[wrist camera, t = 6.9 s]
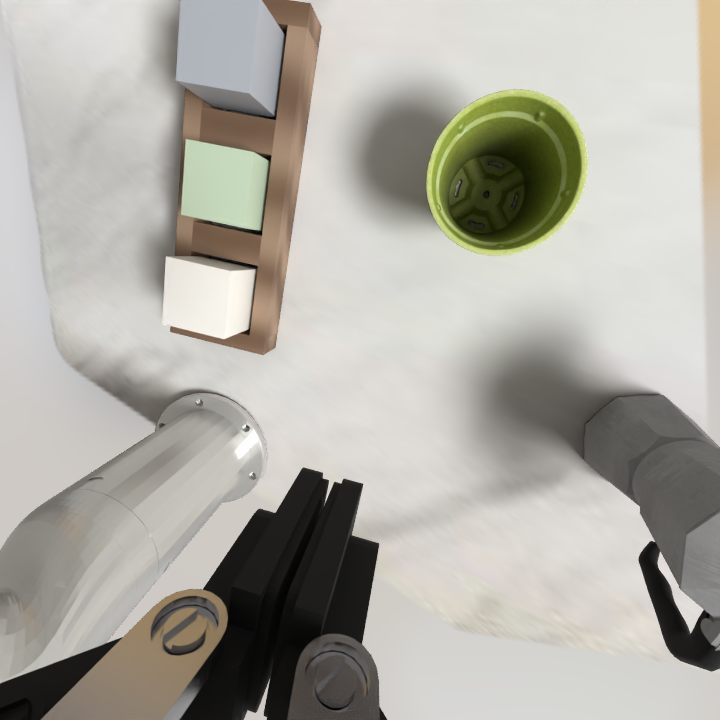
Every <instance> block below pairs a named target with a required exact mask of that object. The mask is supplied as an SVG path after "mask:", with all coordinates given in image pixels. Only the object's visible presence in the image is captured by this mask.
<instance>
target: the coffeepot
mask: <svg viewBox="0 0 720 720" xmlns="http://www.w3.org/2000/svg"><path fill="white" fill-rule="evenodd" d="M584 461H585V462H587V463H588V464H589V465H590V466H591V467H593V468H594V469H595V470H596V471H597V472H598V473H600V474H601V475H602V476H603V477H604V478H606V479H607V480H608V481H609V482H610V483H611V484H613V485H614V486H615V487H616V488H618V489H619V490H620V491H621V492H623V493H624V494H625V495H626V496H628V497H629V498H630V499H631V500H633V501H634V502H635V503H636V504H637V505H639V506H640V514H641V516H642V518H643V519H644V521H645V523H646V525H647V527H648V529H649V531H650V533H651V534H652V536H653V538H654V540H655V542H653V541H650V542H649V543H648V544H647V546H646V547H645V548H644V549H643V551H642V552H641V554H640V556H639V564H640V566H641V569H642V573H643V576H644V579H645V583H646V585H647V589H648V592H649V595H650V598H651V601H652V603H653V606H654V609H655V612H656V615H657V618H658V621H659V625H660V628H661V631H662V635H663V638H664V641H665V643H666V646H667V647H668V649H669V651H670V652H671V653H672V654H673V655H674V657H676V658H677V659H678V660H680V661H682V662H685V663H688V664H691V665H694V666H697V667H700V668H703V669H706V670H709V671H715V670H717V669H720V447H719V446H718V445H717V444H716V443H715V442H714V441H713V440H712V439H711V438H710V437H709V436H708V435H707V434H706V433H705V432H704V431H703V430H702V429H701V428H700V427H699V426H698V425H697V424H696V423H695V422H694V421H693V420H692V419H691V418H689V417H688V416H687V415H686V414H685V413H684V412H682V411H681V410H680V409H679V408H678V407H677V406H676V405H674V404H673V403H672V402H671V401H670V400H669V399H667V398H666V397H665V396H664V395H634V396H627V397H617V398H615V399H614V400H613V401H611V402H610V403H609V404H607V405H606V406H604V407H603V408H601V409H600V410H599V411H598V412H597V413H596V414H595V415H594V416H593V417H592V419H591V420H590V421H589V422H588V423H586V424H585V434H584ZM660 551H661V553H662V555H663V557H664V559H665V561H666V562H667V564H668V566H669V568H670V570H671V572H672V574H673V576H674V577H675V579H676V581H677V583H678V585H679V588H680V590H681V591H683V592H684V593H685V594H686V595H687V596H689V597H690V598H691V599H692V600H693V601H695V602H696V603H697V604H698V605H699V606H701V607H702V608H703V609H704V610H703V612H702V614H701V615H700V617H699V618H698V620H697V623H696V625H695V627H694V629H693V631H692V633H691V634H690V631H689V629H688V626H687V624H686V622H685V620H684V618H683V617H682V615H681V613H680V611H679V609H678V608H677V606H676V604H675V602H674V599H673V595H672V590H671V587H670V585H669V583H668V581H667V580H666V578H665V577H664V575H663V574H662V573H661V571H660V570H659V568H658V564H657V562H658V557H659V553H660Z"/></svg>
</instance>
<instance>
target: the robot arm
mask: <svg viewBox="0 0 720 720" xmlns="http://www.w3.org/2000/svg"><path fill="white" fill-rule="evenodd" d="M266 460H267V452H266V445H265V441H264V437H263V435H262V433H261V430H260V428H259V427H258V425H257V423H256V422H255V420H254V419H253V418H252V417H251V416H250V415H249V413H248V412H247V411H246V410H245V409H243V408H242V407H241V406H239V405H238V404H237V403H235V402H233V401H231V400H230V399H228V398H226V397H223V396H220V395H217V394H211V393H194V394H190V395H186V396H184V397H182V398H180V399H178V400H176V401H175V402H173V403H172V404H170V405H169V406H168V407H167V408H166V409H165V410H164V411H163V412H162V414H161V416H160V418H159V419H158V422H157V425H156V428H155V432H154V433H153V434H151V435H149V436H148V437H146V438H144V439H143V440H141V441H140V442H138V443H137V444H135V445H133V446H132V447H131V448H129V449H127V450H126V451H124V452H123V453H121V454H119V455H118V456H116V457H115V458H113V459H112V460H110V461H109V462H107V463H105V464H104V465H102V466H101V467H99V468H98V469H96V470H95V471H93V472H91V473H90V474H88V475H87V476H85V477H84V478H82V479H81V480H79V481H77V482H76V483H74V484H73V485H71V486H70V487H68V488H66V489H65V490H63V491H62V492H60V493H59V494H57V495H56V496H54V497H53V498H51V499H50V500H48V501H46V502H45V503H43V504H42V505H40V506H39V507H38V508H36V509H35V510H34V511H32V512H31V513H30V514H29V515H28V516H27V517H26V518H25V519H24V520H23V521H22V522H21V523H20V524H19V525H18V526H17V527H16V528H15V530H14V531H13V532H12V533H11V535H10V536H9V537H8V539H7V540H6V542H5V543H4V545H3V547H2V548H1V550H0V720H244V718H245V715H246V713H247V710H249V711H252V712H255V713H256V712H257V710H258V708H259V705H260V703H261V700H262V697H263V695H264V692H265V689H266V687H267V684H268V682H269V679H270V683H269V688H268V694H267V699H266V705H265V710H264V716H266V717H267V720H387V719H386V717H385V715H384V713H383V712H382V711H381V709H380V707H379V679H378V673H377V668H376V665H375V663H374V660H373V658H372V656H371V654H370V653H369V652H368V651H367V650H366V648H365V647H364V646H363V645H362V640H363V634H364V629H365V623H366V617H367V612H368V606H369V600H370V594H371V588H372V582H373V577H374V571H375V566H376V560H377V554H378V548H379V543H376V542H372V541H369V540H365V539H362V538H359V537H355V536H352V531H353V527H354V522H355V518H356V514H357V509H358V505H359V501H360V496H361V492H362V488H363V484H362V483H358V482H354V481H351V480H347V479H343V481H342V484H340V483H337V482H334V484H333V487H332V489H331V491H330V494H329V496H328V498H327V501H326V503H325V499H326V494H327V489H328V484H329V480H326V479H322V478H323V473H322V472H318V471H314V470H311V469H307V468H302V470H301V471H300V473H299V475H298V476H297V478H296V480H295V481H294V483H293V485H292V486H291V488H290V490H289V491H288V493H287V495H286V496H285V498H284V500H283V501H282V503H281V505H280V506H279V508H278V510H277V512H276V513H273V512H270V511H266V510H263V509H258V510H257V511H256V513H254V515H253V516H252V518H251V519H250V521H249V522H248V524H247V525H246V527H245V528H244V530H243V531H242V533H241V534H240V535H239V537H238V538H237V540H236V541H235V543H234V544H233V546H232V547H231V549H230V550H229V552H228V553H227V555H226V556H225V558H224V559H223V561H222V562H221V563H220V565H219V566H218V568H217V569H216V571H215V572H214V574H213V575H212V577H211V578H210V580H209V581H208V583H207V584H206V585H205V587H204V589H203V590H202V589H188V590H184V591H179V592H176V593H174V594H172V595H170V596H167V597H165V598H164V599H163V600H161V601H160V602H159V603H158V604H156V605H155V606H154V607H153V608H152V609H151V610H150V611H149V612H148V613H147V614H146V615H145V616H144V617H143V618H142V619H141V620H140V621H139V622H138V623H137V624H136V625H135V626H134V627H133V628H132V629H131V630H130V631H129V632H128V633H127V634H126V635H125V636H124V637H122V638H119V639H117V640H114V641H111V642H109V643H107V641H108V640H109V639H110V638H111V636H112V635H113V634H114V633H115V631H116V630H117V629H118V628H119V626H120V625H121V624H122V623H123V621H124V620H125V619H126V618H127V616H128V615H129V614H130V613H131V612H132V610H133V609H134V608H135V607H136V605H137V604H138V603H139V602H140V601H141V599H142V598H143V597H144V596H145V595H146V593H147V592H148V591H149V590H150V589H151V587H152V586H153V585H154V584H155V583H156V581H157V580H158V579H159V578H160V577H161V575H162V574H163V573H164V572H165V571H166V569H167V568H168V567H169V566H170V565H171V564H172V562H173V561H174V560H175V559H176V558H177V556H178V555H179V554H180V553H181V552H182V550H183V549H184V548H185V547H186V546H187V544H188V543H189V542H190V541H191V540H192V538H193V537H194V536H195V535H196V534H197V532H198V531H199V530H200V529H201V528H202V526H203V525H204V524H205V523H206V521H207V520H208V519H209V518H210V517H211V516H212V515H213V513H214V512H215V511H216V510H217V508H218V507H219V506H220V505H221V504H222V503H224V502H230V501H234V500H237V499H239V498H242V497H243V496H245V495H246V494H248V493H249V492H250V491H251V490H252V489H253V488H254V487H255V486H256V484H257V483H258V482H259V480H260V479H261V477H262V475H263V472H264V470H265V466H266ZM324 504H325V506H324ZM270 676H271V677H270Z"/></svg>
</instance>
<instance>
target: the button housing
mask: <svg viewBox="0 0 720 720" xmlns="http://www.w3.org/2000/svg"><path fill="white" fill-rule="evenodd" d="M262 1H263V3H264V4H265V6H266V7H267V9H268V10H269V12H270V13H271V15H272V16H273V18H274V19H275V21H276V22H277V24H278V25H279V27H280V29H281V30H282V32H283V33H284V35H285V36H286V44H285V52H284V60H283V68H282V76H281V84H280V93H279V101H278V109H277V117H276V120H272V119H266V118H261V117H255V116H250V115H244V114H239V113H233V112H228V111H222V108H218V107H213V106H212V105H210V104H209V103H207V102H206V101H205V100H203V99H202V98H200V97H199V96H197V95H196V94H194V93H193V92H191V91H190V90H189V89H187V88H185V104H184V120H183V136H182V152H181V167H180V183H179V199H178V215H177V231H176V247H175V256H202V257H207V258H209V255H212V256H217V257H221V258H225V259H230V260H234V261H239V262H243V263H248V264H252V265H257V266H258V271H257V279H256V288H255V296H254V304H253V312H252V320H251V328H250V329H248V330H246V331H243V332H241V333H238V334H236V335H233V336H231V337H228V338H226V339H221V338H217V337H213V336H209V335H205V334H201V333H197V332H193V331H189V330H185V329H181V328H177V327H173V326H171V327H170V332H173V333H177V334H181V335H185V336H189V337H193V338H197V339H201V340H205V341H209V342H213V343H217V344H221V345H225V346H229V347H233V348H237V349H241V350H245V351H249V352H253V353H257V354H261V355H264V354H266V353H267V352H269V351H271V350H272V349H274V348H275V346H276V339H277V332H278V325H279V318H280V311H281V304H282V297H283V290H284V283H285V276H286V269H287V263H288V256H289V249H290V242H291V235H292V228H293V221H294V214H295V207H296V200H297V193H298V186H299V179H300V172H301V165H302V158H303V151H304V144H305V137H306V130H307V124H308V117H309V110H310V103H311V96H312V89H313V82H314V75H315V68H316V61H317V54H318V47H319V40H320V33H321V25H320V22H319V20H318V18H317V16H316V14H315V12H314V10H313V8H312V5H311V3H304V2H297V1H290V0H262ZM186 139H188V140H194V141H199V142H204V143H209V144H215V145H220V146H225V147H230V148H236V149H241V150H246V151H251V152H255V153H256V154H258V155H260V156H261V157H263V158H265V159H266V160H270V161H271V166H270V174H269V182H268V190H267V198H266V206H265V214H264V223H263V231H262V235H261V234H256V233H251V232H247V231H242V230H237V229H233V228H228V227H223V226H219V225H214V224H212V221H209V220H204V219H199V218H195V217H190V216H185V215H181V205H182V190H183V175H184V159H185V144H186Z"/></svg>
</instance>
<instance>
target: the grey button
mask: <svg viewBox="0 0 720 720" xmlns="http://www.w3.org/2000/svg"><path fill="white" fill-rule="evenodd" d="M285 44H286V36H285V35H284V33H283V32H282V30H281V29H280V27H279V25H278V24H277V22H276V21H275V19H274V18H273V16H272V15H271V13H270V12H269V10H268V9H267V7H266V6H265V4H264V3H263V1H262V0H180V14H179V32H178V50H177V68H176V81H177V82H178V83H180V84H181V85H183V86H184V87H186V88H187V89H189V90H190V91H191V92H193V93H194V94H196V95H197V96H199V97H200V98H202V99H203V100H205V101H206V102H207V103H209V104H210V105H212V106H213V107H218V108H224V109H229V110H235V111H240V112H246V113H252V114H257V115H263V116H268V117H274V118H276V117H277V109H278V101H279V93H280V84H281V76H282V68H283V60H284V52H285Z"/></svg>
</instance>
